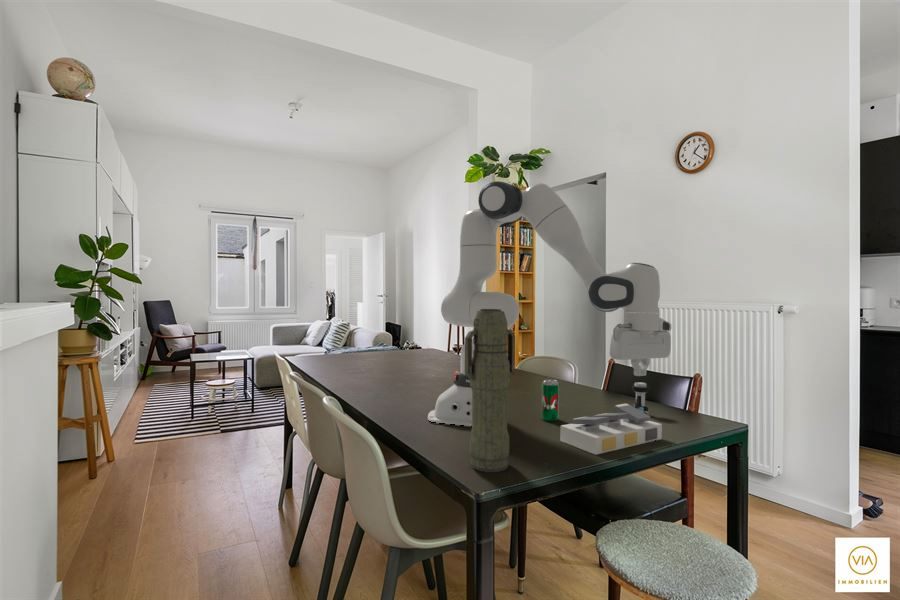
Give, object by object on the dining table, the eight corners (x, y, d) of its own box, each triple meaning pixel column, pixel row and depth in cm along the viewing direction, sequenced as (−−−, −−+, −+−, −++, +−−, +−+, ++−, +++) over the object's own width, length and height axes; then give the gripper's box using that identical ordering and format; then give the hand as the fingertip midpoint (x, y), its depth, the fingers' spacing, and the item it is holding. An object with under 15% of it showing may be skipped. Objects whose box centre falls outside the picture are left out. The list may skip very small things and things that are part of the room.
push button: (655, 416, 147) (655, 385, 146) (640, 417, 145) (640, 386, 145) (642, 411, 153) (642, 381, 153) (627, 412, 152) (628, 381, 152)
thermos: (456, 463, 105) (457, 308, 105) (498, 454, 111) (500, 308, 111) (477, 476, 98) (478, 310, 97) (522, 466, 103) (523, 309, 103)
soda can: (559, 418, 144) (559, 379, 144) (557, 422, 139) (558, 382, 139) (542, 416, 146) (543, 378, 145) (540, 421, 141) (540, 381, 141)
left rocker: (595, 424, 114) (594, 419, 114) (572, 424, 121) (571, 419, 121) (609, 421, 117) (608, 416, 117) (586, 421, 123) (585, 416, 124)
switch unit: (596, 455, 111) (596, 433, 111) (560, 440, 122) (560, 421, 122) (662, 439, 124) (662, 420, 124) (624, 427, 134) (624, 410, 134)
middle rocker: (617, 420, 118) (616, 414, 118) (594, 420, 125) (593, 415, 125) (630, 417, 121) (629, 412, 121) (607, 417, 127) (606, 413, 128)
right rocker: (637, 423, 122) (638, 418, 122) (613, 409, 129) (614, 405, 129) (649, 420, 125) (650, 416, 125) (625, 407, 132) (626, 403, 131)
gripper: (624, 324, 116) (622, 379, 116) (675, 324, 126) (674, 375, 126) (604, 323, 122) (603, 375, 122) (655, 323, 132) (654, 372, 132)
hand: (640, 375), depth 124 cm, fingers closed
